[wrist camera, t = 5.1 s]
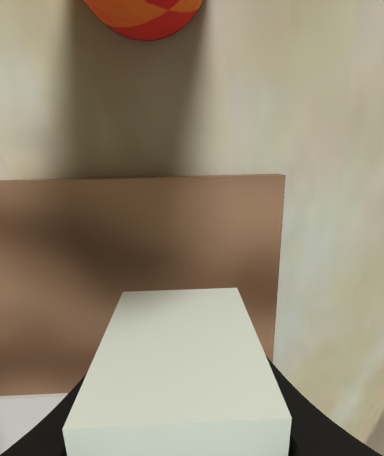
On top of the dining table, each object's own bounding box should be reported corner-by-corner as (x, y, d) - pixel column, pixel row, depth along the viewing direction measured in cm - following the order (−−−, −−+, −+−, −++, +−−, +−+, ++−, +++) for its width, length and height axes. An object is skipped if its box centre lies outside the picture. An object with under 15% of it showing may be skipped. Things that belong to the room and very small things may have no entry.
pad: (129, 496, 17) (129, 500, 17) (-5, 504, 17) (-7, 508, 17) (117, 390, 15) (116, 393, 15) (-37, 397, 15) (-40, 401, 14)
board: (258, 479, 19) (263, 496, 18) (-64, 497, 18) (-78, 516, 17) (277, 174, 13) (285, 175, 12) (-185, 184, 12) (-215, 187, 12)
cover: (234, 380, 15) (277, 562, 8) (132, 385, 15) (90, 575, 8) (237, 287, 14) (291, 417, 7) (122, 291, 13) (62, 429, 7)
